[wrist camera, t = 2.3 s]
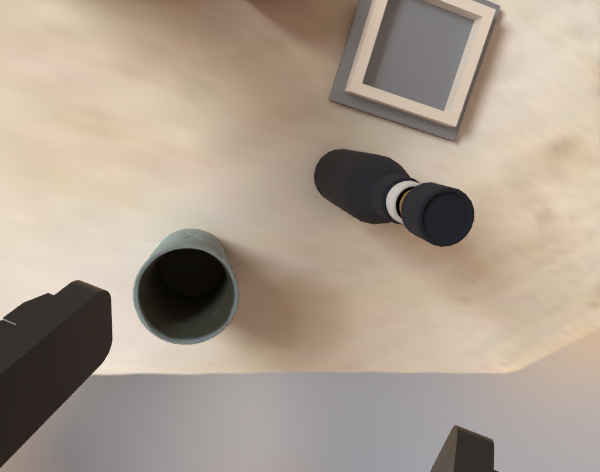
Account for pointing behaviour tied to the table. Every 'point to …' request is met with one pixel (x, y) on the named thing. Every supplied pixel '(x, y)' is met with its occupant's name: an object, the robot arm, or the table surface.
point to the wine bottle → (393, 196)
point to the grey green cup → (186, 288)
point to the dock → (414, 60)
